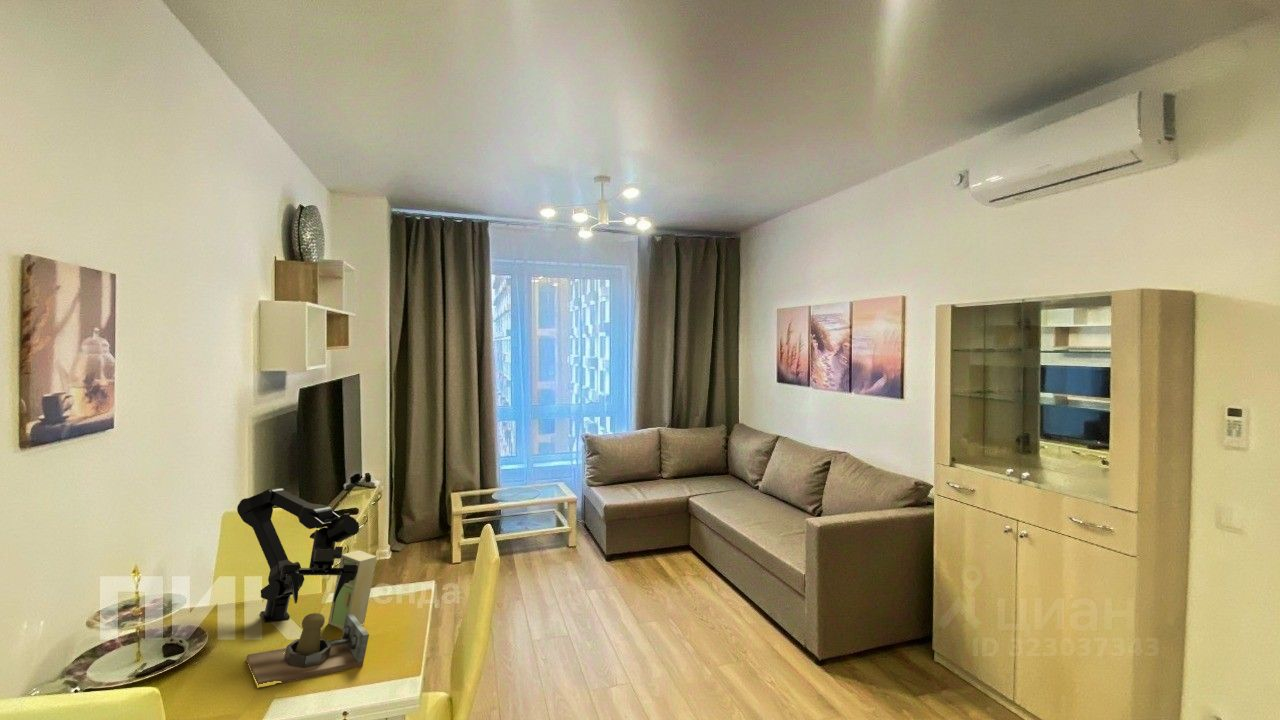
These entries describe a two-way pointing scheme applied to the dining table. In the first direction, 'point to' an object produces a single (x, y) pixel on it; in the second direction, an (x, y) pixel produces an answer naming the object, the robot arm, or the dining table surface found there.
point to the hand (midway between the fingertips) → (315, 602)
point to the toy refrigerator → (353, 589)
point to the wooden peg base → (340, 658)
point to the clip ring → (320, 657)
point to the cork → (310, 634)
